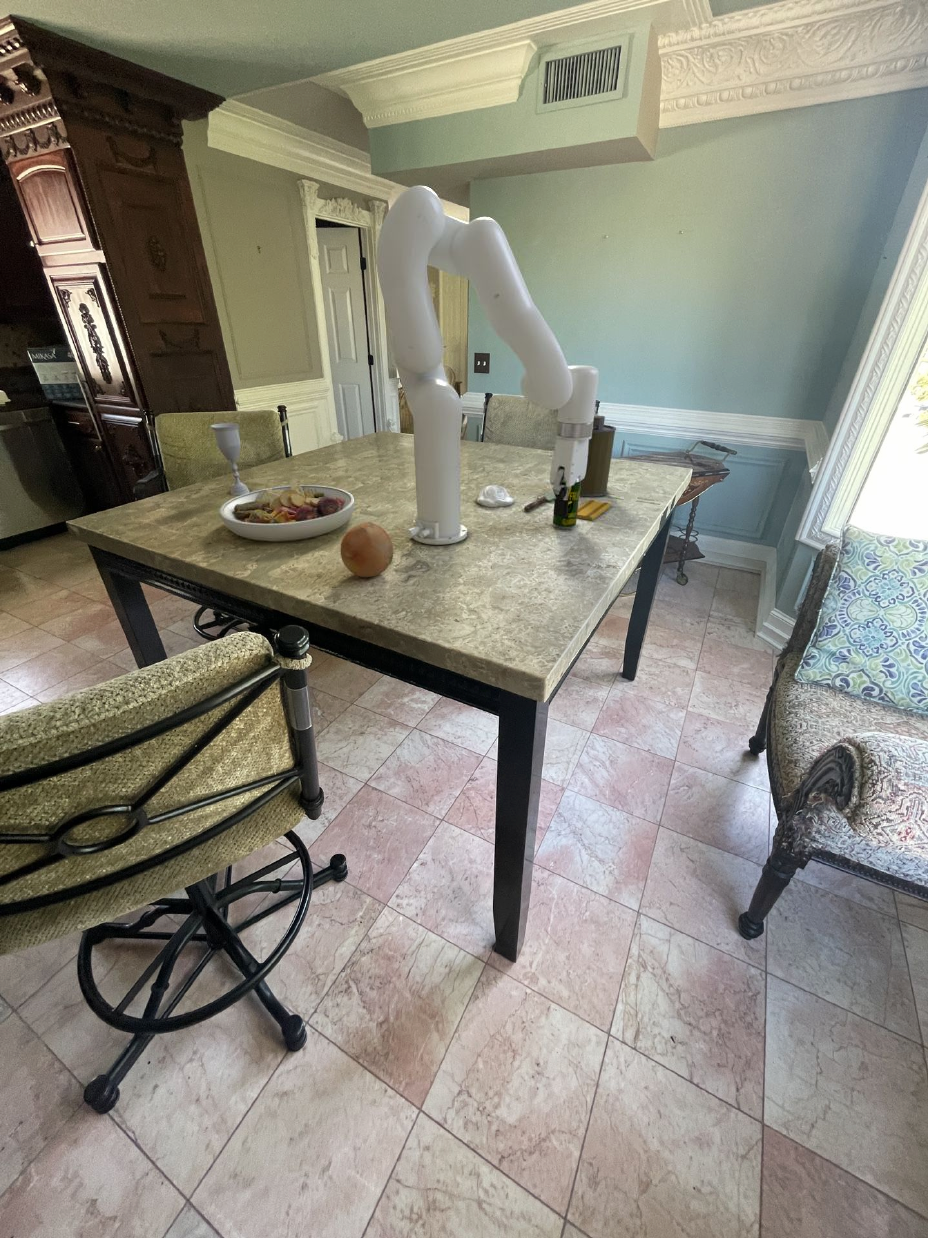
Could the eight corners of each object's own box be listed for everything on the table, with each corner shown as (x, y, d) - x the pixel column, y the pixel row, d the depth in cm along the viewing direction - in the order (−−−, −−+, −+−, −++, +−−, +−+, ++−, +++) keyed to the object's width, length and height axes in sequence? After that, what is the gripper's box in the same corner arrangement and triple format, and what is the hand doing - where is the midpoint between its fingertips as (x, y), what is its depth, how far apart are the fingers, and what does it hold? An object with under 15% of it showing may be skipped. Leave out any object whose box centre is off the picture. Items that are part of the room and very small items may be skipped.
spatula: (532, 513, 126) (532, 507, 125) (518, 510, 128) (518, 505, 127) (560, 496, 138) (560, 491, 137) (546, 494, 140) (547, 489, 139)
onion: (351, 562, 100) (345, 514, 94) (400, 564, 99) (397, 515, 94) (335, 584, 91) (328, 532, 86) (389, 586, 90) (384, 534, 85)
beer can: (548, 524, 119) (552, 473, 113) (566, 520, 121) (571, 470, 115) (562, 531, 115) (567, 478, 108) (580, 527, 117) (586, 475, 111)
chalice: (247, 496, 139) (231, 427, 130) (222, 496, 139) (205, 427, 130) (256, 488, 145) (243, 422, 136) (233, 488, 145) (218, 422, 136)
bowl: (195, 533, 113) (185, 499, 109) (288, 498, 137) (282, 468, 133) (298, 556, 102) (291, 519, 98) (380, 513, 126) (377, 482, 122)
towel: (592, 520, 121) (592, 516, 121) (569, 515, 124) (569, 512, 124) (610, 506, 131) (611, 503, 130) (588, 502, 133) (589, 499, 133)
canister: (578, 484, 149) (587, 412, 138) (612, 490, 143) (623, 415, 133) (562, 493, 141) (570, 417, 131) (597, 499, 136) (608, 421, 126)
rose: (487, 478, 137) (520, 483, 133) (487, 494, 140) (519, 499, 135) (470, 487, 130) (503, 492, 126) (470, 504, 132) (503, 510, 128)
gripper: (573, 423, 115) (565, 500, 124) (540, 434, 103) (534, 519, 112) (605, 426, 111) (594, 505, 120) (574, 438, 99) (565, 526, 108)
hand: (565, 511), depth 116 cm, fingers closed on beer can, 5 cm apart
